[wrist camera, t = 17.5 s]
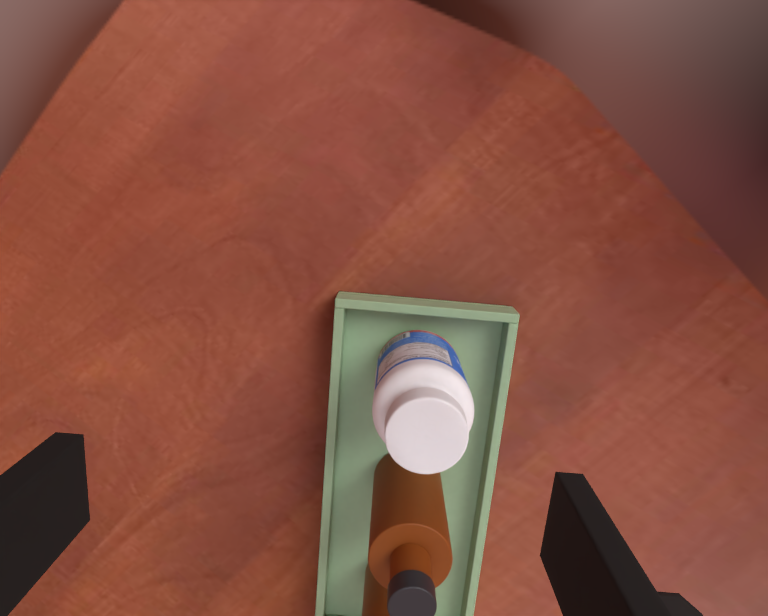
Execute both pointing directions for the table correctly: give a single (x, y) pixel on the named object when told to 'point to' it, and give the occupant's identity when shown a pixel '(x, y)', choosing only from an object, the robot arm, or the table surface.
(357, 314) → the tray
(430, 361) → the pill bottle
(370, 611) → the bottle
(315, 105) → the table surface
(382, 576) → the bottle mid
